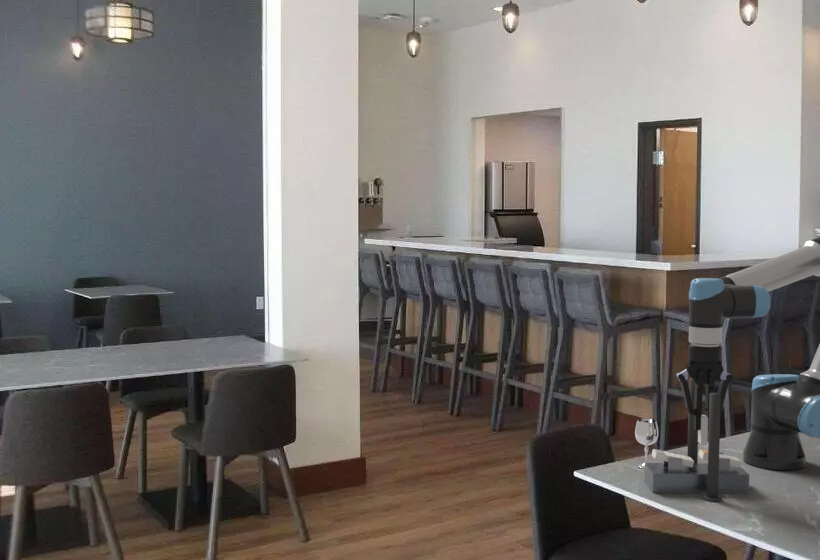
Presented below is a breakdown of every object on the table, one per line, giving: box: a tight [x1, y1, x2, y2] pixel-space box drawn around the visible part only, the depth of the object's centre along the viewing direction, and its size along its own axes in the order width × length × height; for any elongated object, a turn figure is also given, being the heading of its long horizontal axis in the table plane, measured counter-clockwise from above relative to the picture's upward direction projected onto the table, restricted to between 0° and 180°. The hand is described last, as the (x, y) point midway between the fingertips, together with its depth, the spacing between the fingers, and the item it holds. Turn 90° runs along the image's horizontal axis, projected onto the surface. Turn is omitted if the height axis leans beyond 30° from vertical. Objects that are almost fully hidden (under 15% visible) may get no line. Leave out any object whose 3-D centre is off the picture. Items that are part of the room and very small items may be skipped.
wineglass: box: [634, 418, 659, 470], centre depth 232 cm, size 6×6×12 cm
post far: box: [686, 377, 699, 463], centre depth 223 cm, size 4×4×24 cm
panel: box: [644, 451, 750, 495], centre depth 215 cm, size 22×9×8 cm, turn 87°
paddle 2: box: [698, 449, 742, 468], centre depth 214 cm, size 9×4×2 cm, turn 88°
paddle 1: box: [651, 448, 694, 467], centre depth 215 cm, size 9×4×2 cm, turn 88°
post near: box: [702, 392, 723, 503], centre depth 205 cm, size 4×4×24 cm
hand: (702, 443), depth 214 cm, fingers closed
